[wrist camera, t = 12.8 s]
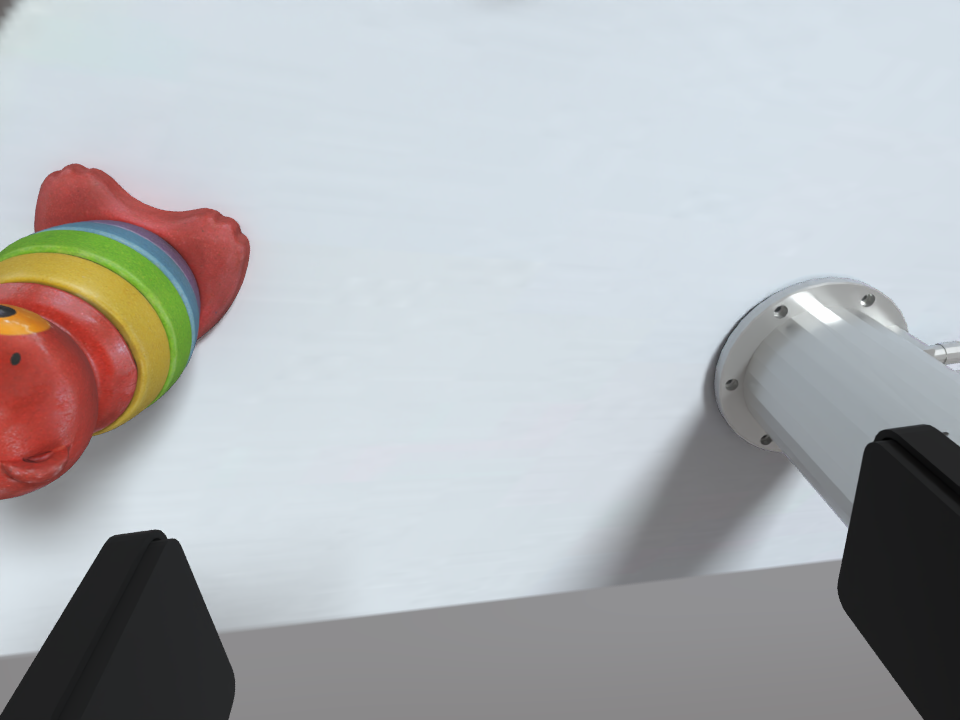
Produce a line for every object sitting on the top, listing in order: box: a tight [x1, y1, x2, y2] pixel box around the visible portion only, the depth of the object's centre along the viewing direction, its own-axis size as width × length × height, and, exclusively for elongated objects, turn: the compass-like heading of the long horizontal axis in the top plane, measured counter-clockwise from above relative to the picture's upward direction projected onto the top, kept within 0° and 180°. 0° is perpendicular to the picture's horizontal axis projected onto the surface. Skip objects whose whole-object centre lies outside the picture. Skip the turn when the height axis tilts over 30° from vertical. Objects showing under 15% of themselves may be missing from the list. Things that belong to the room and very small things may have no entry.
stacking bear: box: [0, 164, 250, 500], centre depth 30 cm, size 11×10×18 cm
